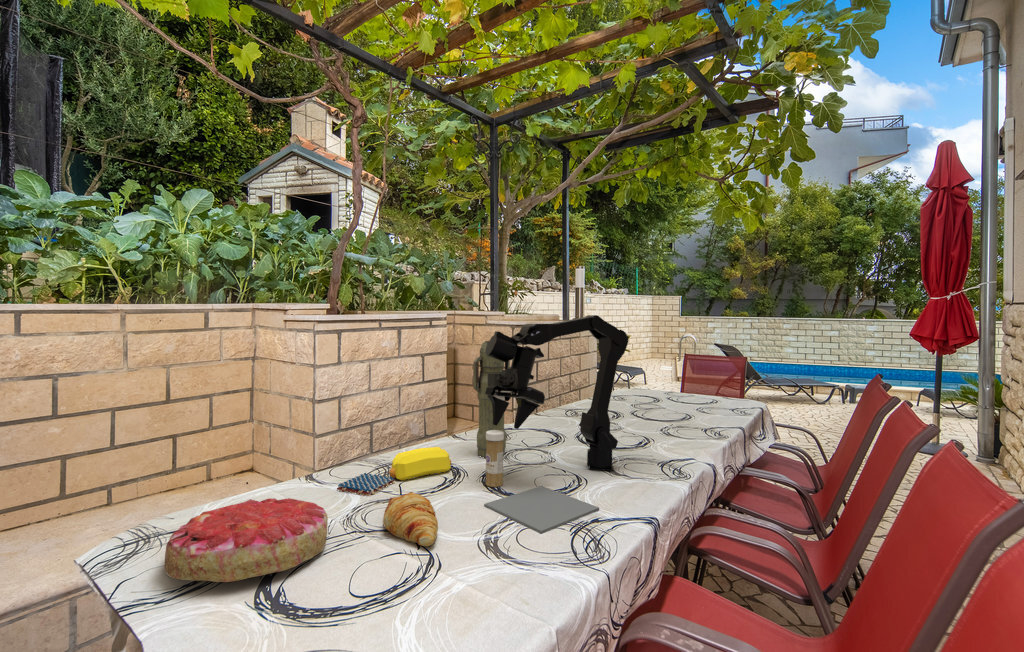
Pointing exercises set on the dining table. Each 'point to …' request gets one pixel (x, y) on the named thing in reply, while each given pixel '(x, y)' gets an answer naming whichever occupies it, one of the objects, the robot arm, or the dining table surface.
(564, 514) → the mat
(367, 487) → the woven mat
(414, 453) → the yellow elongated block
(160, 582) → the dining table surface
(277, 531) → the cake
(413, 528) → the croissant
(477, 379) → the thermos
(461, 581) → the dining table surface
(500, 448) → the sprinkles bottle
